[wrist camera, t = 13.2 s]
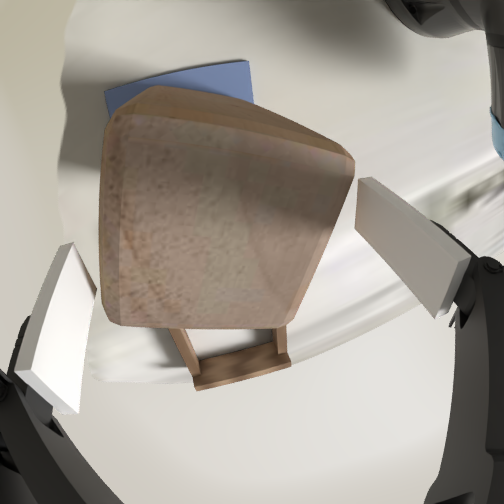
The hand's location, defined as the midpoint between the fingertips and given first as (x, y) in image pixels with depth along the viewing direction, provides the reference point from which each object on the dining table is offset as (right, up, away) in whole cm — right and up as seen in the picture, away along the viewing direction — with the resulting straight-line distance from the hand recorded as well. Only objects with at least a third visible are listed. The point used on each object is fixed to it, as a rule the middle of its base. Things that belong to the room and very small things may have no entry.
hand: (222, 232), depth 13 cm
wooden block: (-5, +10, +15) cm, 19 cm away
